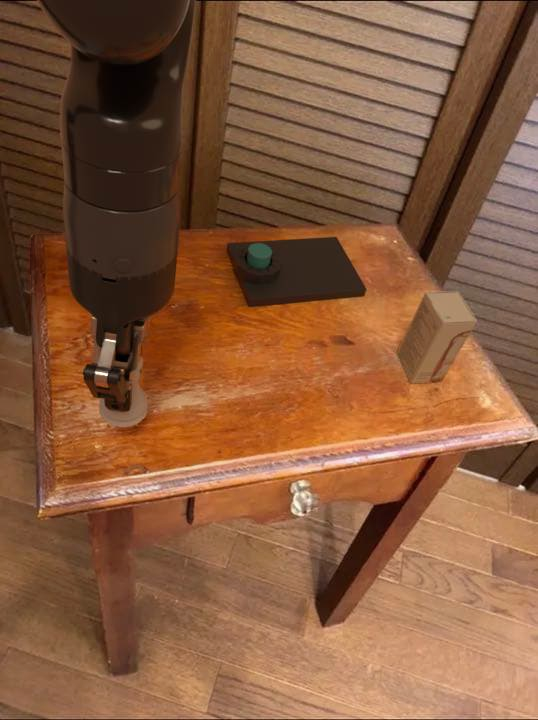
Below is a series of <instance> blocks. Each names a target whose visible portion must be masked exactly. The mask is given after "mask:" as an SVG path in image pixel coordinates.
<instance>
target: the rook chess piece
mask: <svg viewBox="0 0 538 720" xmlns="http://www.w3.org/2000/svg"><path fill="white" fill-rule="evenodd" d="M131 353H132V352H131ZM129 354H130V353H129ZM143 366H144V358H143V356H142V357H140V361H139V364H138V367H137V369H136V370H135V371H133V386H132V404H131V408H130V410H129V411H128V412H119V411H113V410H108V409H107V408H106V407H105V403H104V399H103V398H99V404H98V409H99V410H98V412H99V415H100V417H101V418H102V420H103V421H104V422H106V423H107V424H109V425H111V426H114V427H118V428H129V427H132V426H135V425H137V424H139V423H140V422H141V421H142V420H143V419H145V418H146V415H147V413H148V411H149V407H148V397H147V394H146V393H145V391H144V390H143V388H142V387H141V386H140V385H139V379H140V377H141V374H140V370H141V368H143ZM123 374H125V372H124V373H123ZM139 376H140V377H139Z"/></svg>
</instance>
